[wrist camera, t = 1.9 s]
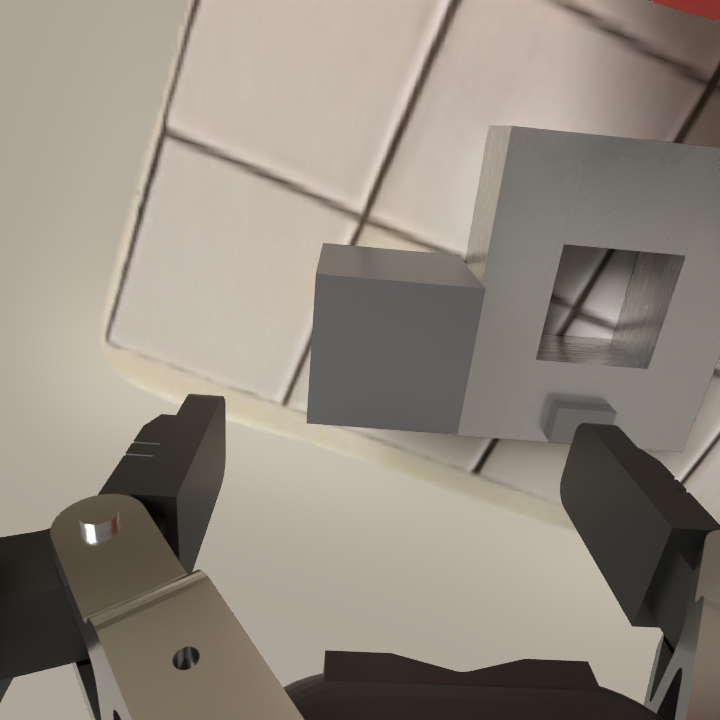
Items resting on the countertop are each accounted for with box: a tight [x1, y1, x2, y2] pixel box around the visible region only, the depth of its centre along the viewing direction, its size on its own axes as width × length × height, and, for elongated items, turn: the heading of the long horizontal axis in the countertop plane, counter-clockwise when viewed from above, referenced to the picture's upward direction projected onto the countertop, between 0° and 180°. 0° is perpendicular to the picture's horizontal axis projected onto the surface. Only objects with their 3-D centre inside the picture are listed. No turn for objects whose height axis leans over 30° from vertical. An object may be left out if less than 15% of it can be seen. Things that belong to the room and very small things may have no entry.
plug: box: [307, 243, 486, 434], centre depth 20 cm, size 5×5×7 cm
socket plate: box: [453, 126, 720, 452], centre depth 22 cm, size 10×12×4 cm
